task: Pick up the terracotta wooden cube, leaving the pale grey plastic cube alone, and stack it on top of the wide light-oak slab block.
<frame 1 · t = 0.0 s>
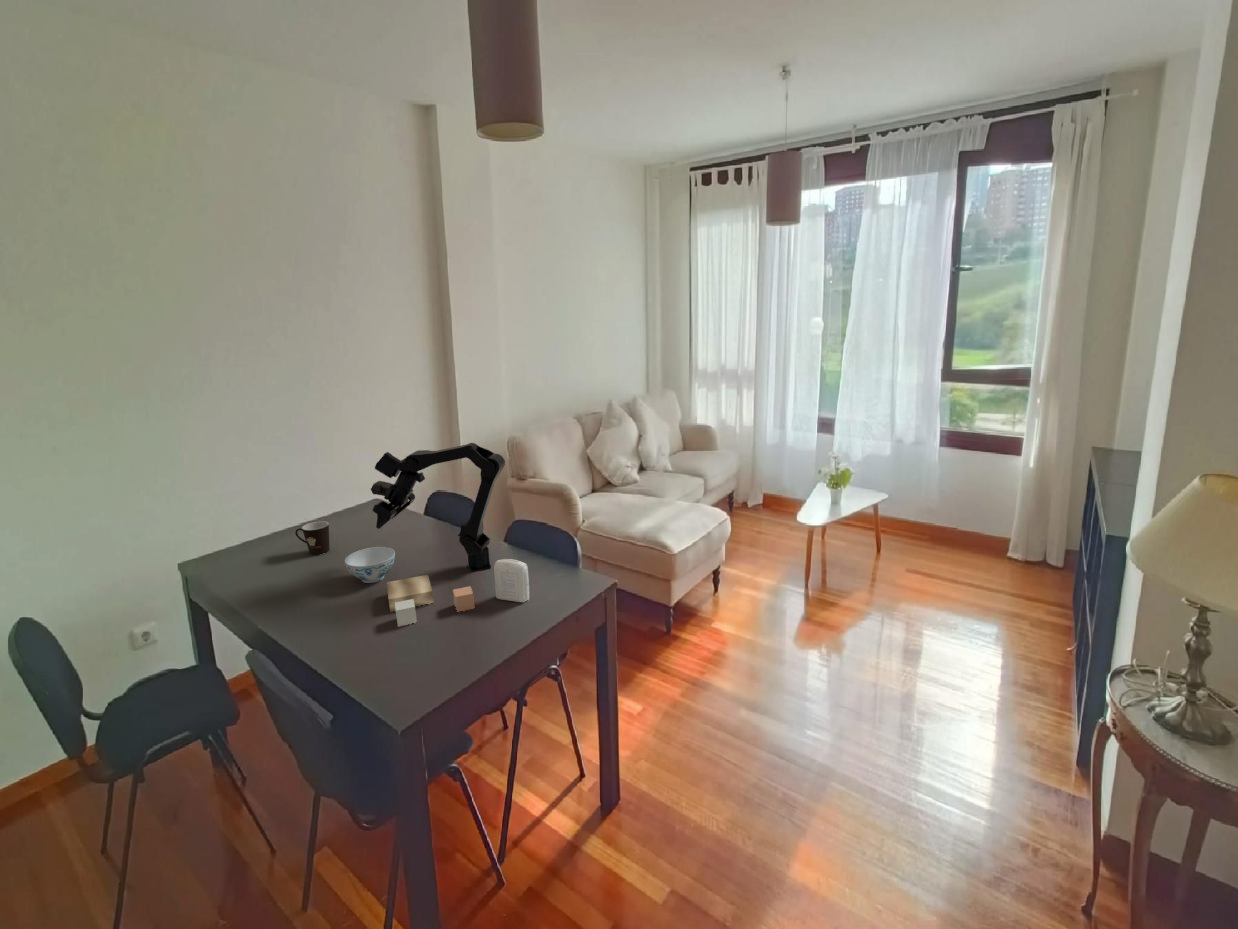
hand: (384, 523, 203), 15 cm above the table, tool tilted 35°, fingers open, 9 cm apart
white rounded block: (513, 599, 181), on the table
coffee mug: (317, 551, 220), on the table
grey cube: (406, 620, 170), on the table
chinaware: (373, 579, 197), on the table
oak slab: (410, 598, 183), on the table
terracotta cube: (464, 607, 177), on the table
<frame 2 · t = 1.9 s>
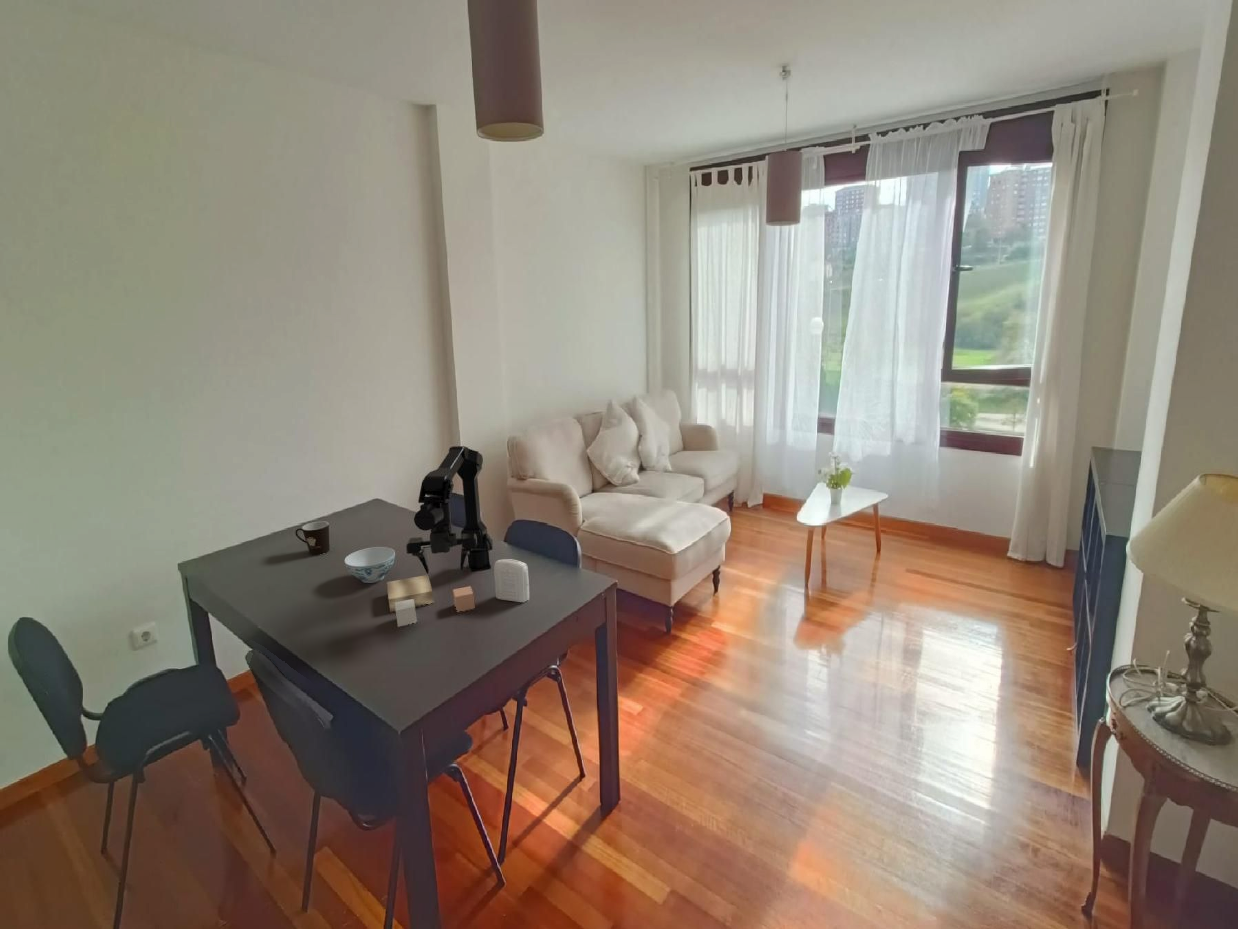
hand: (444, 571, 174), 11 cm above the table, tool pointing down, fingers open, 9 cm apart
nothing on the table moved.
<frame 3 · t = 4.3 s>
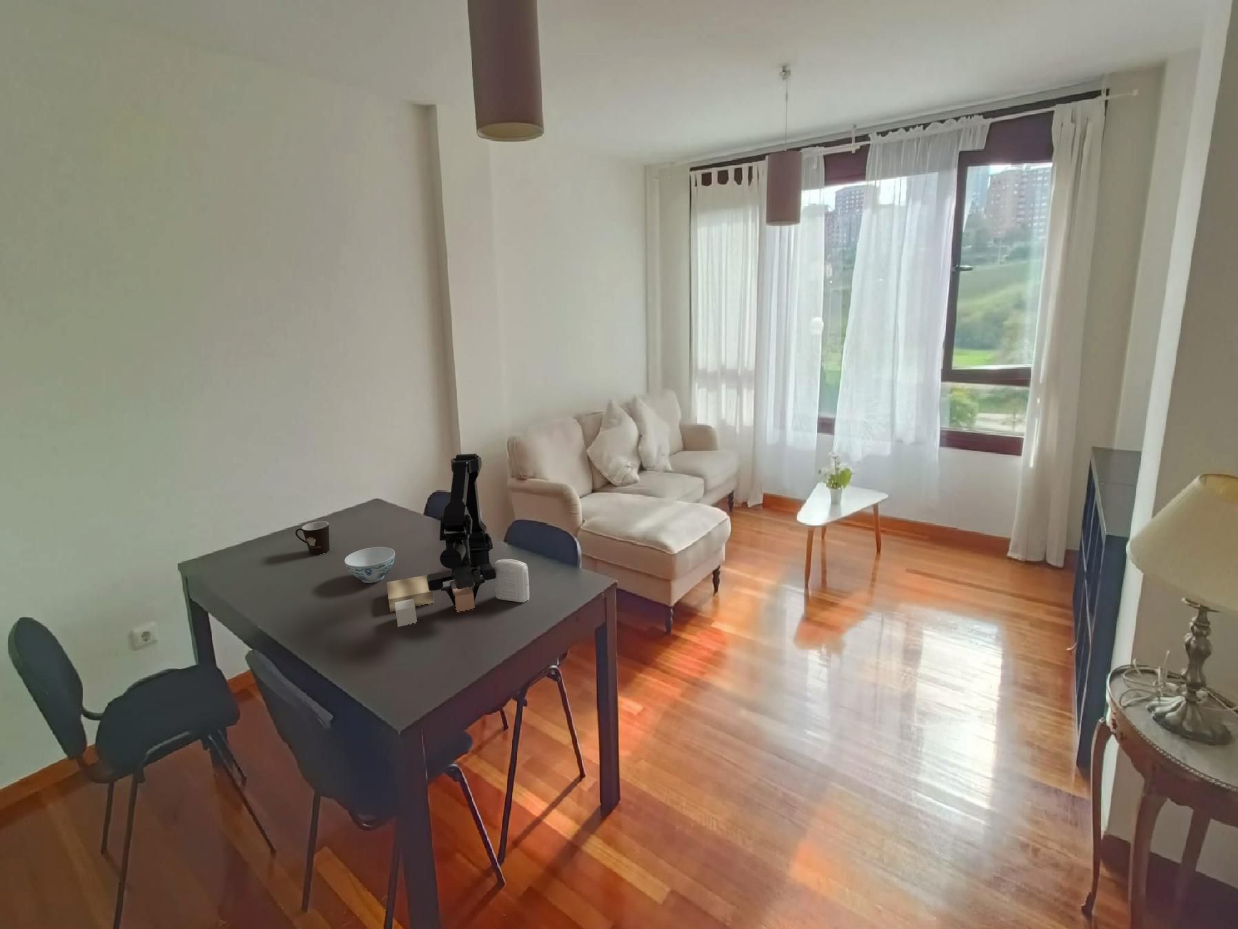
hand: (464, 603, 177), 1 cm above the table, tool pointing down, fingers closed on terracotta cube, 5 cm apart
terracotta cube: (464, 606, 177), on the table, touching gripper
everything else where it was.
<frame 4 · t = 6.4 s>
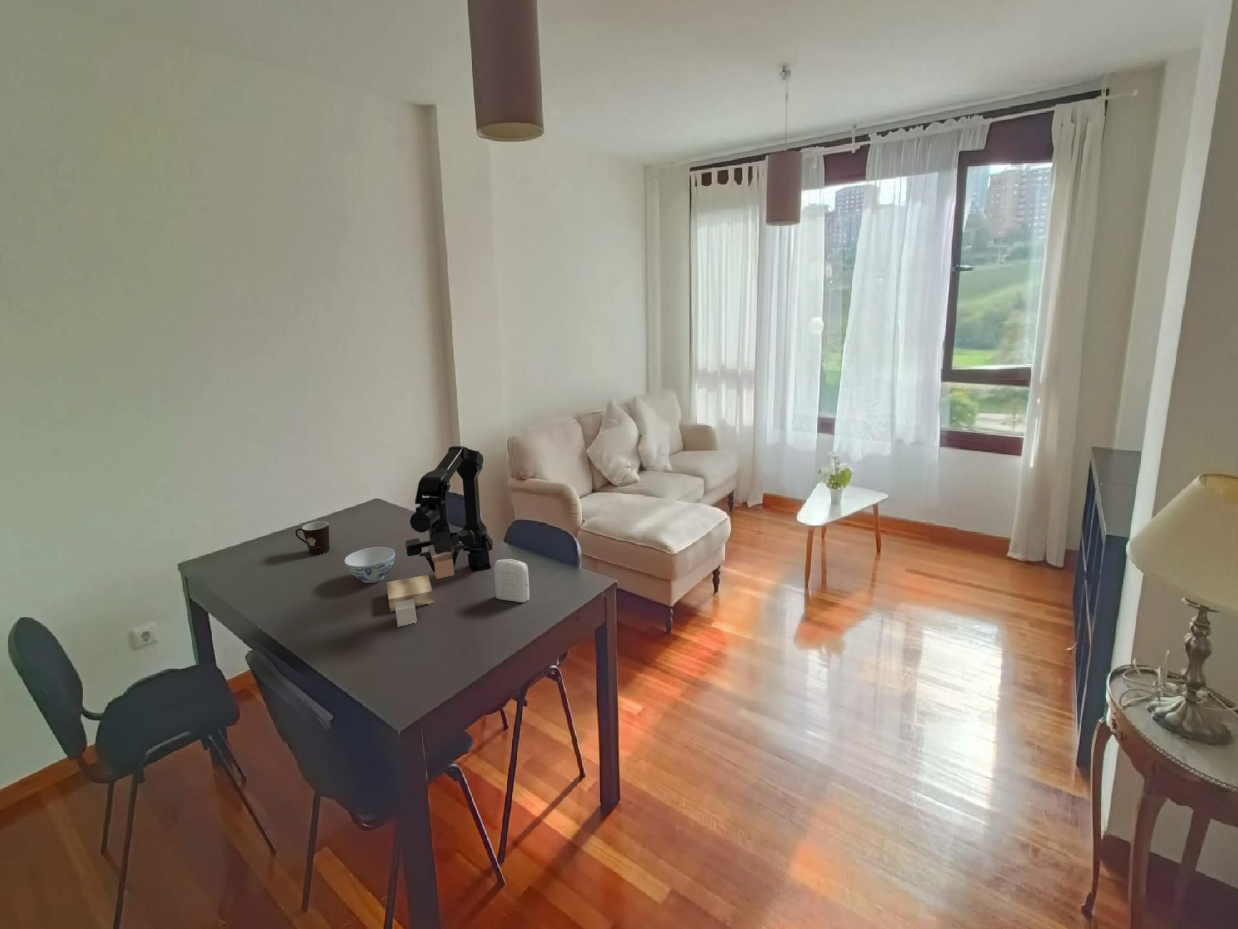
hand: (443, 570, 176), 11 cm above the table, tool pointing down, fingers closed on terracotta cube, 5 cm apart
terracotta cube: (444, 573, 176), point 10 cm above the table, touching gripper
everything else where it was.
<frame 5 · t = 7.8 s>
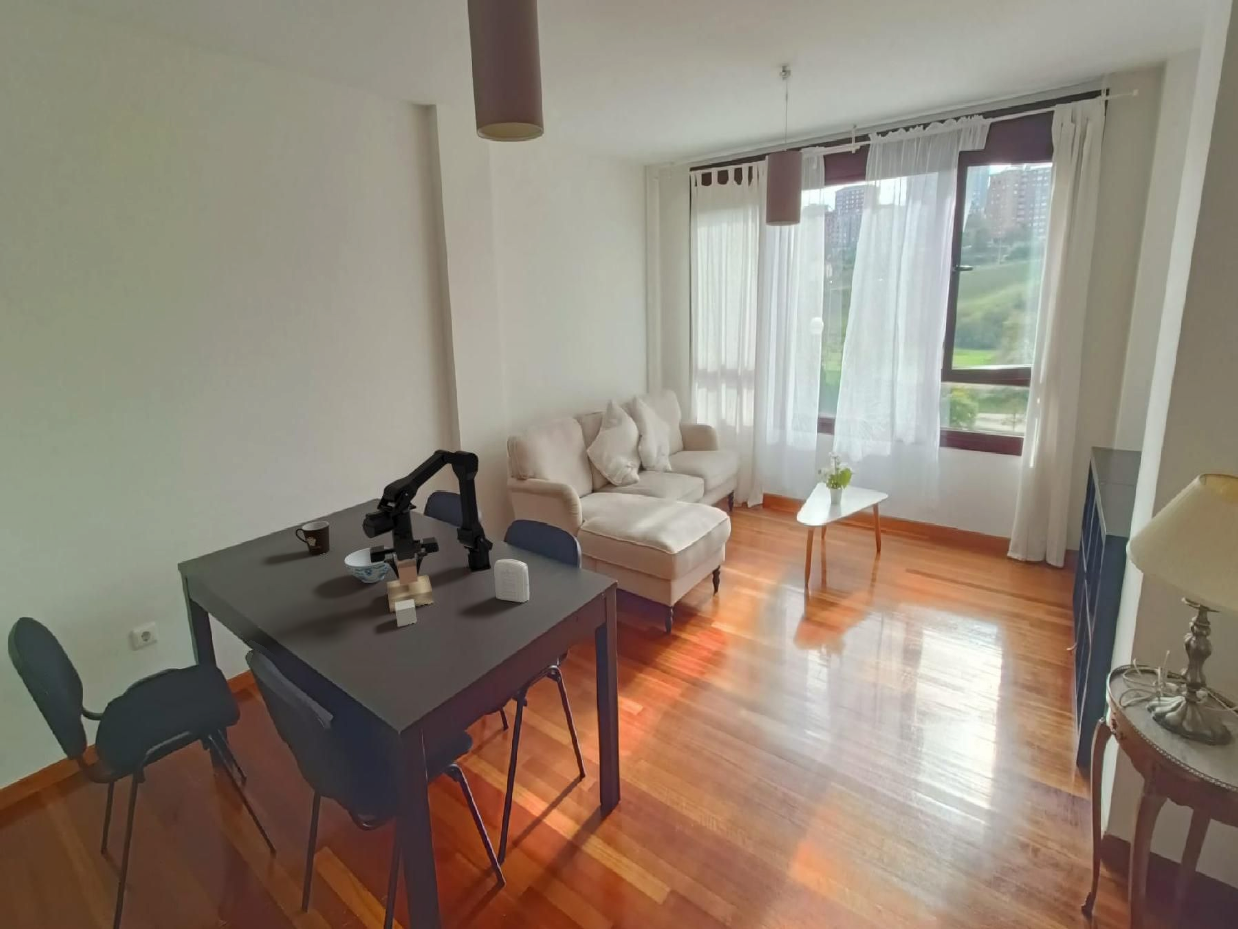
hand: (408, 576, 181), 7 cm above the table, tool pointing down, fingers closed on terracotta cube, 5 cm apart
terracotta cube: (408, 579, 181), point 6 cm above the table, touching gripper
everything else where it was.
when the fingers open (6 cm above the table, at t = 8.7 s): terracotta cube drops 1 cm, resting on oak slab.
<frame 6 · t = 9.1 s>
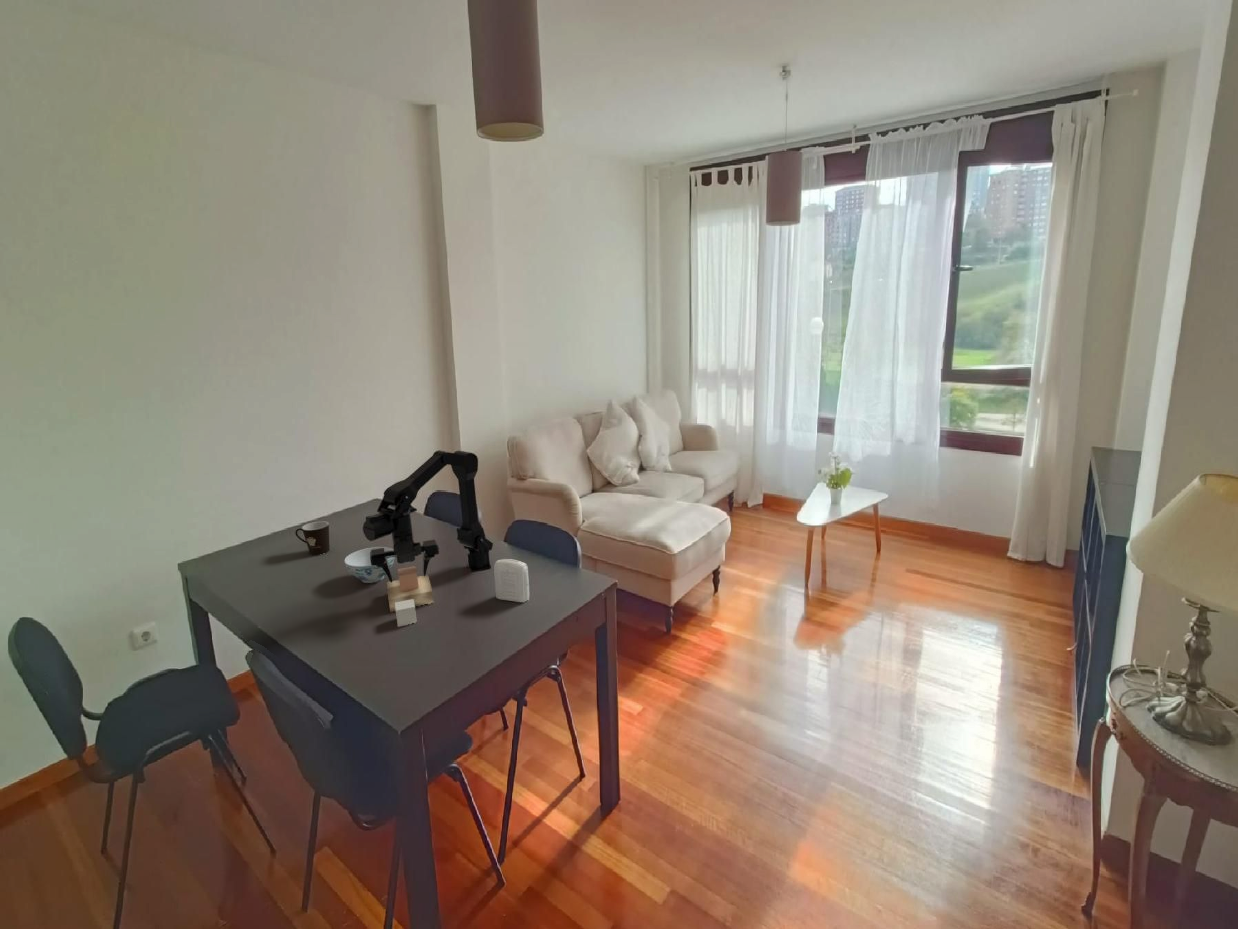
hand: (408, 578, 181), 6 cm above the table, tool pointing down, fingers open, 9 cm apart
terracotta cube: (409, 586, 182), point 4 cm above the table, touching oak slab
everything else where it was.
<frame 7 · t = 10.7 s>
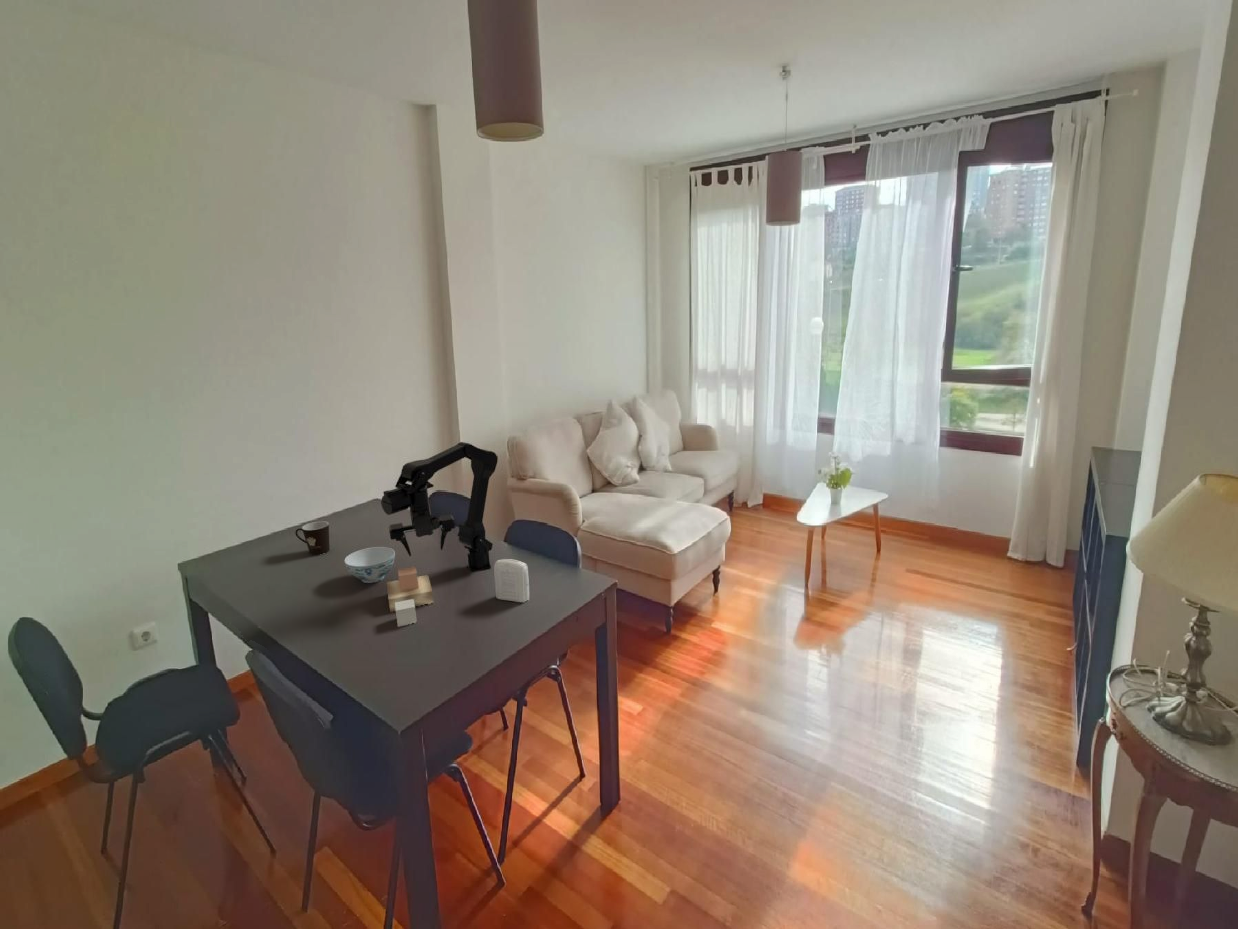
hand: (426, 552, 187), 12 cm above the table, tool pointing down, fingers open, 9 cm apart
nothing on the table moved.
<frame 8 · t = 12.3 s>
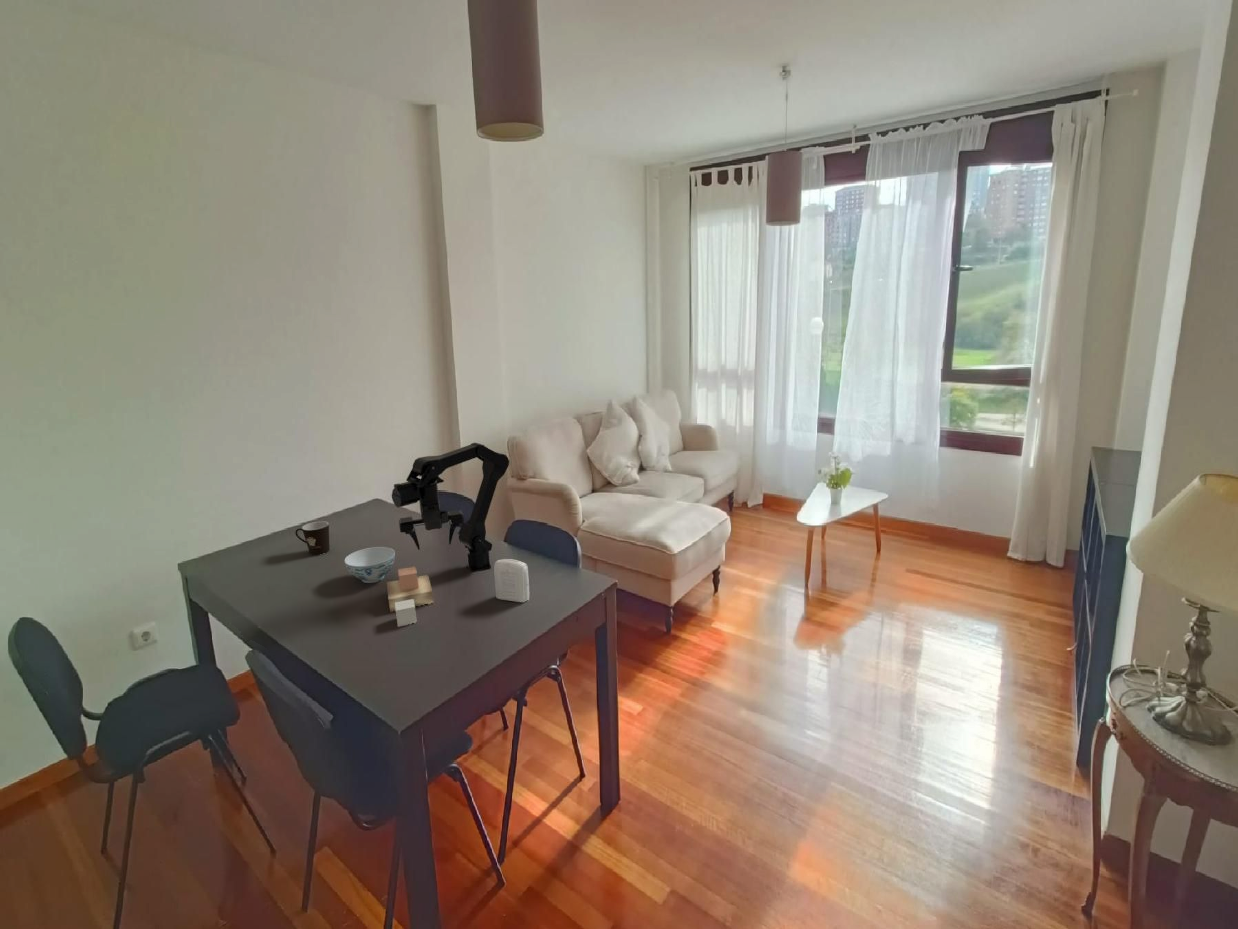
hand: (434, 546, 190), 12 cm above the table, tool pointing down, fingers open, 9 cm apart
nothing on the table moved.
at the end: terracotta cube inside the target area on the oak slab (0.1 cm from its centre), point 4.0 cm above the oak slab's base; terracotta cube tilted 0°; terracotta cube touching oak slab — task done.
